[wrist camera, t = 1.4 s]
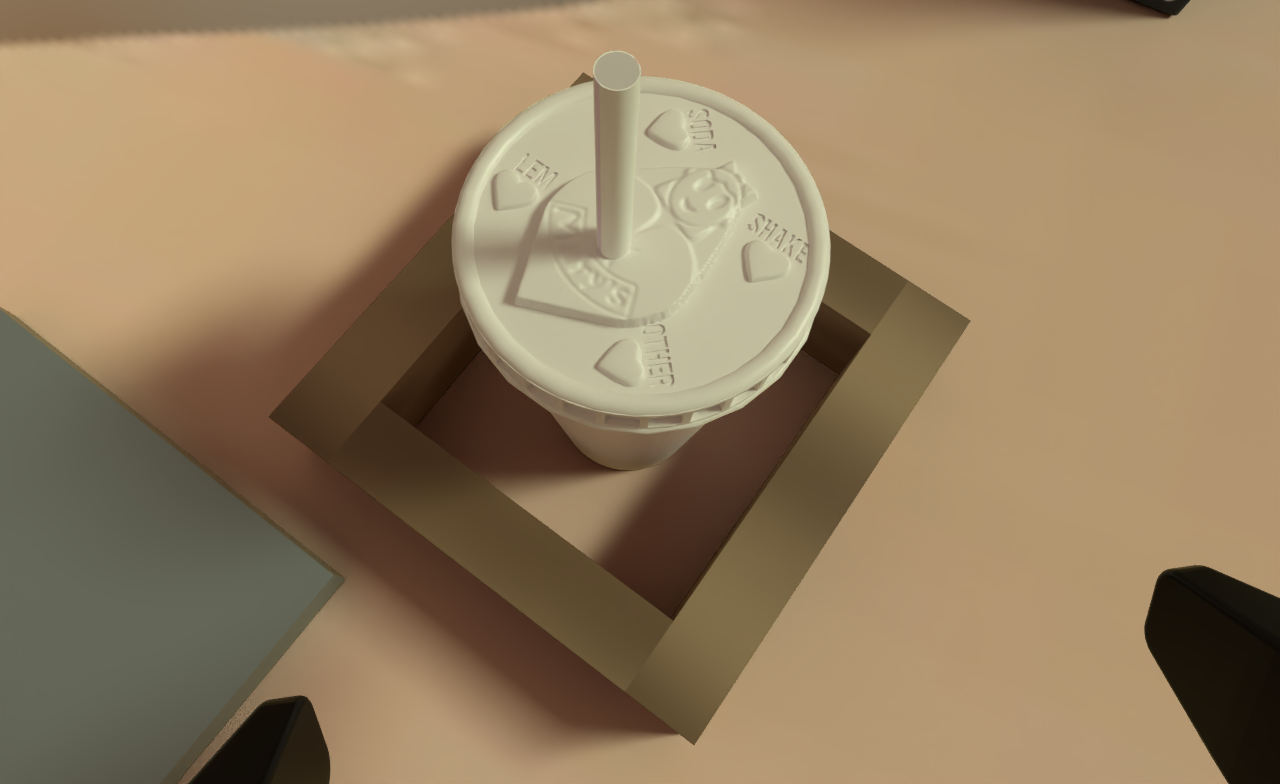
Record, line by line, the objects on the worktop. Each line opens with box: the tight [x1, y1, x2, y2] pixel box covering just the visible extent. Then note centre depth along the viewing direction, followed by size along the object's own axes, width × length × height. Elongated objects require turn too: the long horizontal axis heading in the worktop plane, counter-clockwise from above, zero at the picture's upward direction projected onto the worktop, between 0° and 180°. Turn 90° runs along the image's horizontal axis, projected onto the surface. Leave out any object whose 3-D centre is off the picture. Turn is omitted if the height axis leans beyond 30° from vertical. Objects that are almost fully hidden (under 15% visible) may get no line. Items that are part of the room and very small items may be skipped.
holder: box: [269, 73, 970, 745], centre depth 22 cm, size 12×12×3 cm
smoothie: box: [451, 51, 831, 470], centre depth 17 cm, size 6×6×14 cm
